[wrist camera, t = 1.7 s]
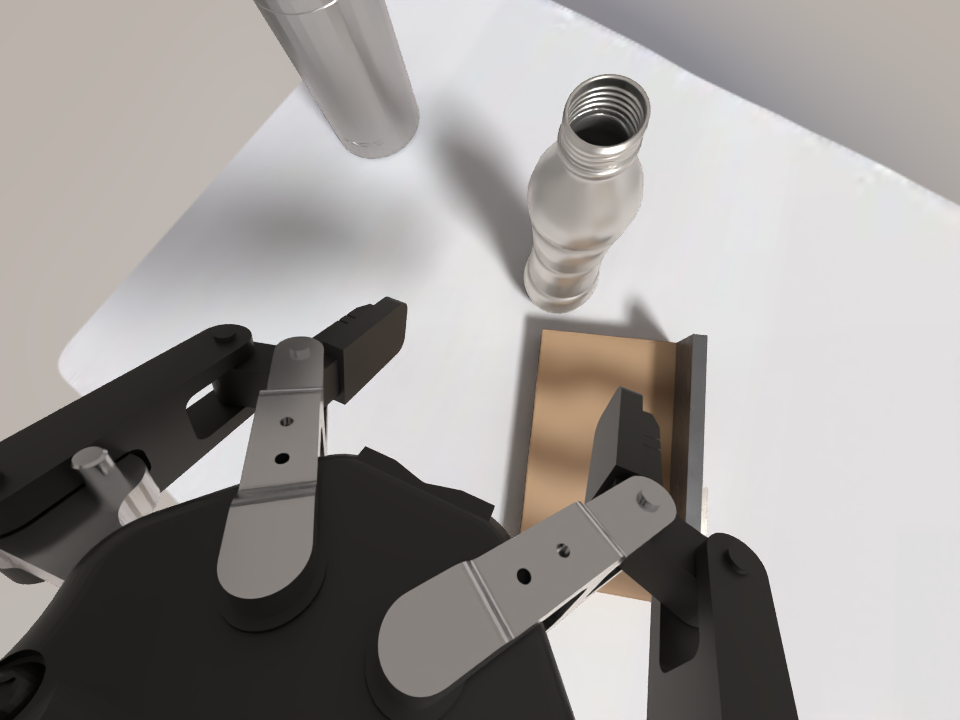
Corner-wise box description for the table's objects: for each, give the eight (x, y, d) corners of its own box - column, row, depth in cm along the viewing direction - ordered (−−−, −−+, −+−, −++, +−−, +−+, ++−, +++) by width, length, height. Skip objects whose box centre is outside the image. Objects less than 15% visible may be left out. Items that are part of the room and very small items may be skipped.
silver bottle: (602, 265, 35) (708, 61, 15) (578, 330, 34) (659, 201, 15) (537, 244, 36) (561, 29, 16) (512, 307, 35) (506, 158, 16)
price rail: (676, 342, 31) (693, 334, 28) (696, 344, 30) (716, 336, 28) (664, 604, 27) (681, 625, 24) (686, 608, 27) (707, 630, 24)
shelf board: (541, 336, 34) (543, 329, 32) (676, 350, 33) (689, 344, 31) (516, 565, 31) (516, 576, 29) (665, 591, 30) (678, 606, 27)
